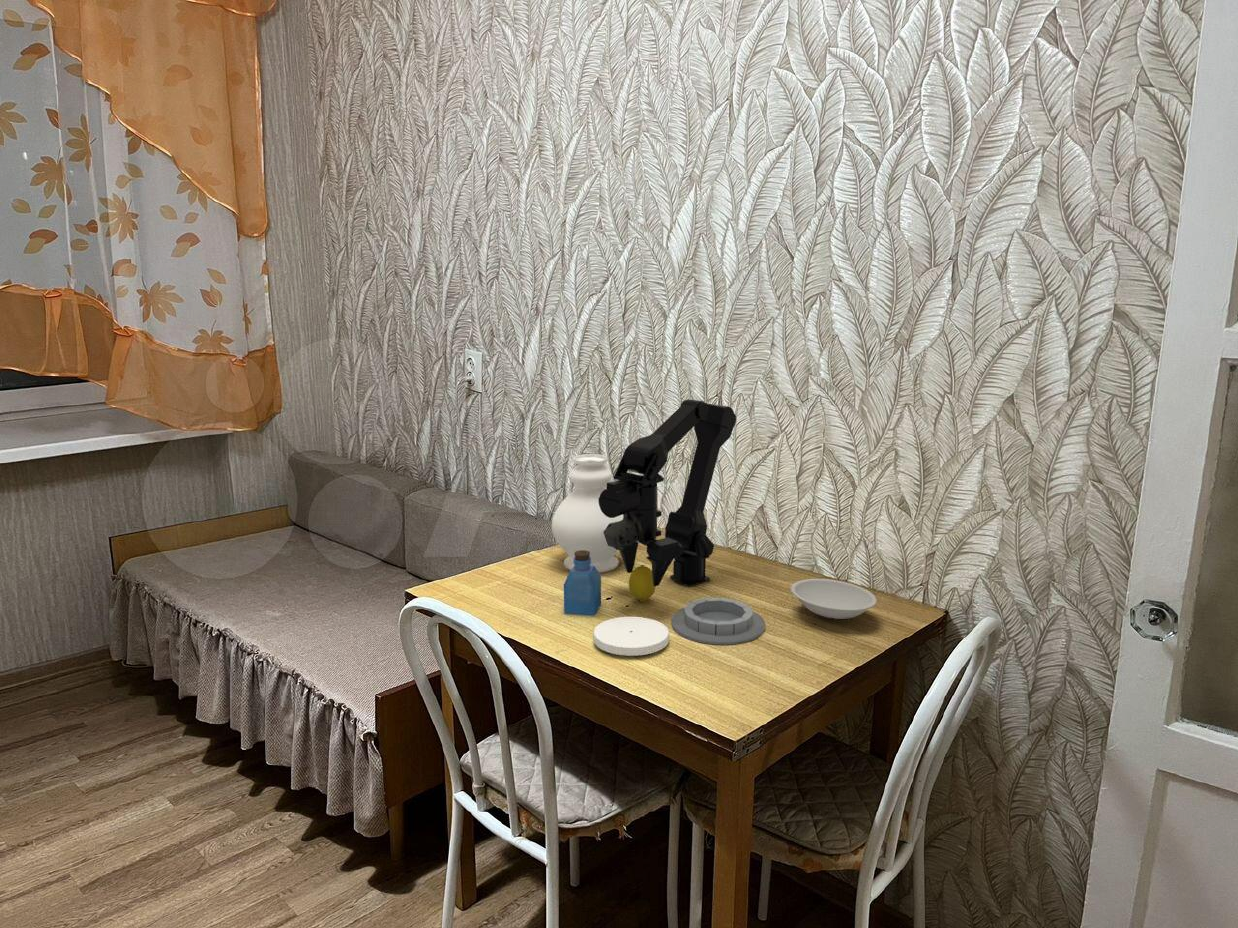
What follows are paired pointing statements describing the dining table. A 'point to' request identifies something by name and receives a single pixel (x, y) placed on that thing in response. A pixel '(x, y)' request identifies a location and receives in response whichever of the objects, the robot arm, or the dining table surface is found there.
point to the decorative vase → (586, 515)
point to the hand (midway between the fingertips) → (642, 579)
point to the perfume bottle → (582, 587)
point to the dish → (833, 598)
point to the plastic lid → (631, 636)
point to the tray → (718, 639)
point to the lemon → (641, 583)
